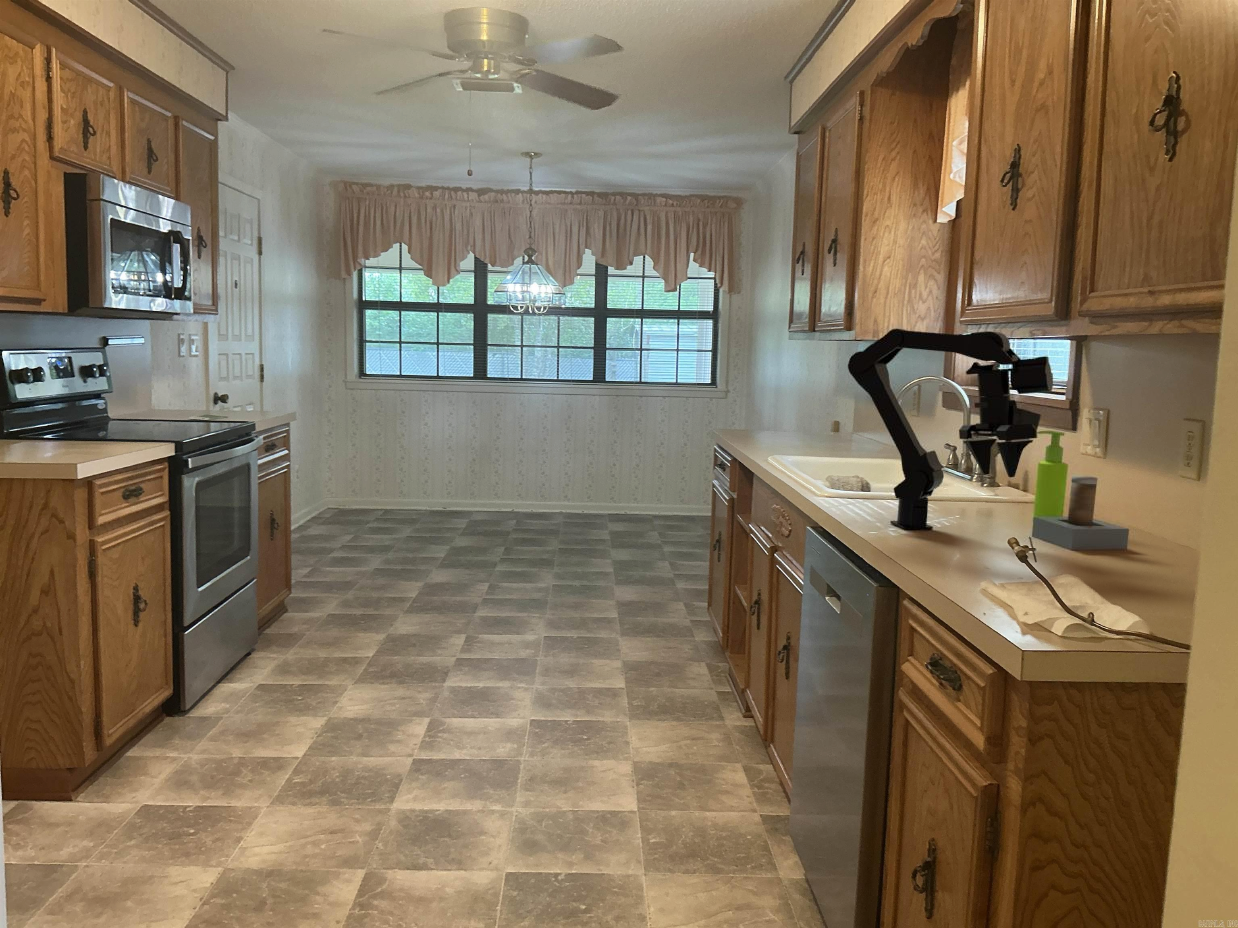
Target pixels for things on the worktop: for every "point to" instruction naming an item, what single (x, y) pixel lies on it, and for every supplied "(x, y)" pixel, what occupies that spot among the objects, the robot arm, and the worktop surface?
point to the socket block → (1080, 534)
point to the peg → (1082, 500)
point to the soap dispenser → (1051, 480)
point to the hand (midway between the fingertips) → (998, 475)
